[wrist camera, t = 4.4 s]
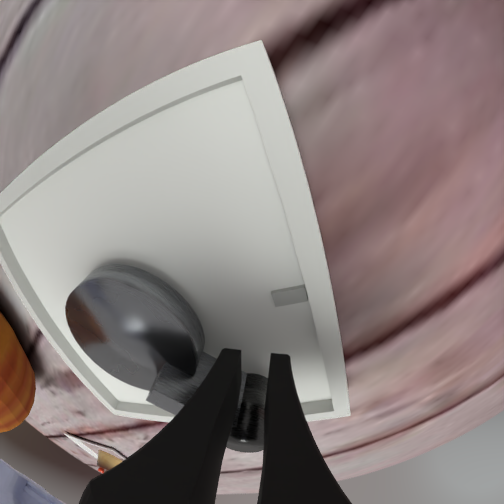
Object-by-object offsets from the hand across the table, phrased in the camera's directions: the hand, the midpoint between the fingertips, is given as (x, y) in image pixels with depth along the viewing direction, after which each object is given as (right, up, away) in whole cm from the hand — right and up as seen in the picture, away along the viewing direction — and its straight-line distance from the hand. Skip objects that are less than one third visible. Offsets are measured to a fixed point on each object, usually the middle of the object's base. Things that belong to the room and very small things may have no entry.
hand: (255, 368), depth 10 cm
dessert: (-22, -27, +21) cm, 41 cm away
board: (-5, +2, +3) cm, 6 cm away
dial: (-3, 0, +1) cm, 4 cm away
